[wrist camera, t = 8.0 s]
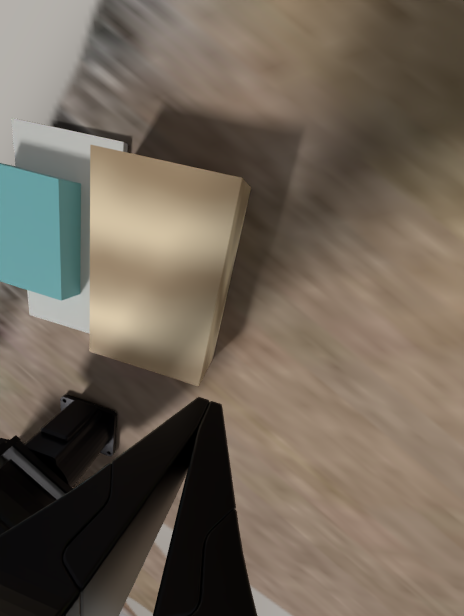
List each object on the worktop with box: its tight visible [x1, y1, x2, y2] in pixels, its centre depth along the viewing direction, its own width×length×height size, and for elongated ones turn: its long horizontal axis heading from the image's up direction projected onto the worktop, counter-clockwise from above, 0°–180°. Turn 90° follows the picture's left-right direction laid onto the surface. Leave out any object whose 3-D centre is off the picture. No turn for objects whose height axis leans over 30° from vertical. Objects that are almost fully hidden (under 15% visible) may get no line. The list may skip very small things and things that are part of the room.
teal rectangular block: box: [0, 163, 81, 301], centre depth 19 cm, size 9×6×2 cm, turn 167°
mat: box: [11, 118, 128, 334], centre depth 20 cm, size 16×9×1 cm, turn 168°
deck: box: [89, 145, 251, 386], centre depth 18 cm, size 14×9×4 cm, turn 168°
